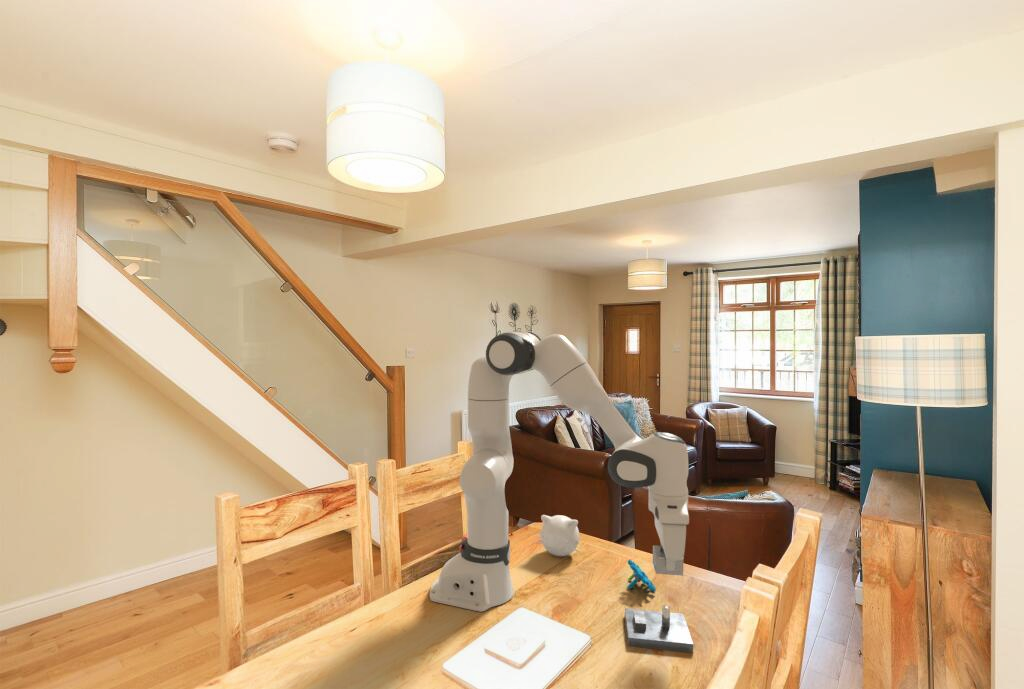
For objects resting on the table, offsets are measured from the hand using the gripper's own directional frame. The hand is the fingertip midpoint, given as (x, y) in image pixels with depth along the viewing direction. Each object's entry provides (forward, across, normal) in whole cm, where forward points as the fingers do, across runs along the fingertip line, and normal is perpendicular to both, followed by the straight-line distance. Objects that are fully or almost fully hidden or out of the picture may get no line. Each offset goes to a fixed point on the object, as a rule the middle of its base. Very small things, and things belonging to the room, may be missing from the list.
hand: (667, 561), depth 117 cm
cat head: (+17, -38, -27) cm, 50 cm away
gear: (+18, -21, -4) cm, 28 cm away
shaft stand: (+17, 0, -2) cm, 17 cm away
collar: (+2, 0, 0) cm, 2 cm away
